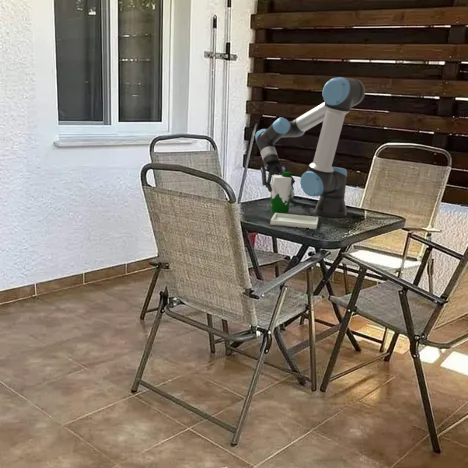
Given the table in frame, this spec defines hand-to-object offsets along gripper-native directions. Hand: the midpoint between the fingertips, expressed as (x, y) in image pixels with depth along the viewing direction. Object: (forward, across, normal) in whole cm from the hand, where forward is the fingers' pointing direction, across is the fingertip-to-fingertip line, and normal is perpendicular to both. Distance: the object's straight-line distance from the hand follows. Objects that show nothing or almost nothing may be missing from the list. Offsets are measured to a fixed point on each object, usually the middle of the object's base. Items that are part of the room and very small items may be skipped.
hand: (283, 196), depth 285 cm
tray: (+18, +2, +5) cm, 18 cm away
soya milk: (+4, 0, -9) cm, 10 cm away
